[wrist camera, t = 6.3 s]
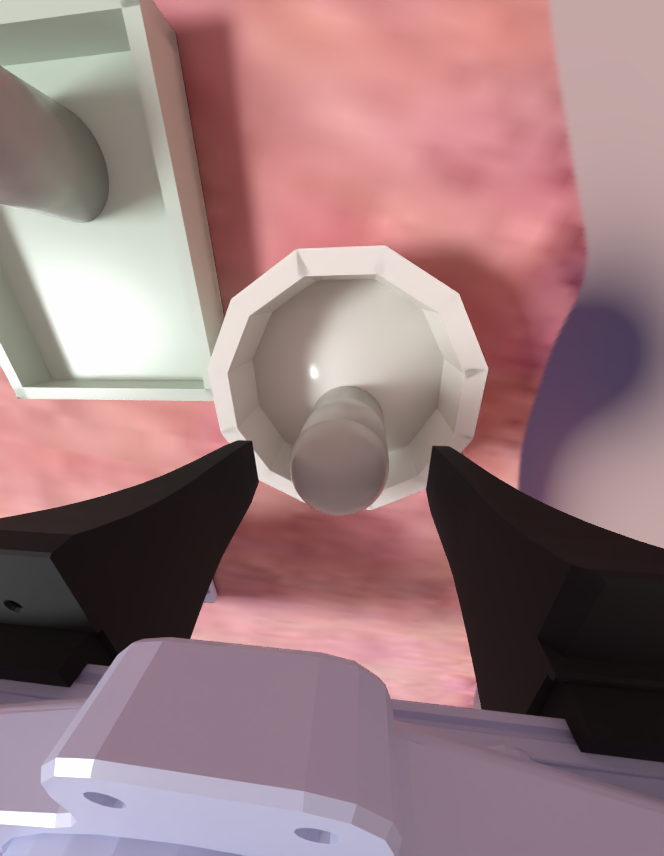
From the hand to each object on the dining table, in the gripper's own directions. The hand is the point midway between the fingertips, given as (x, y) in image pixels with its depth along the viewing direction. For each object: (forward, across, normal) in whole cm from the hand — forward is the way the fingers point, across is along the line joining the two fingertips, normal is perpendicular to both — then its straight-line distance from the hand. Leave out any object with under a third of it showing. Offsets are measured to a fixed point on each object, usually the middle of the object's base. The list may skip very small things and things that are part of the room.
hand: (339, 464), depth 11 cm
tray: (+5, +12, -8) cm, 15 cm away
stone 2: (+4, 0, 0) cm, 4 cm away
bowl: (+5, 0, -2) cm, 5 cm away
